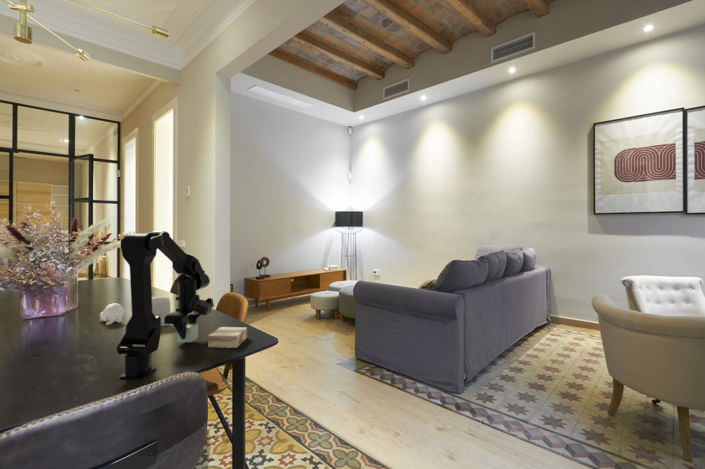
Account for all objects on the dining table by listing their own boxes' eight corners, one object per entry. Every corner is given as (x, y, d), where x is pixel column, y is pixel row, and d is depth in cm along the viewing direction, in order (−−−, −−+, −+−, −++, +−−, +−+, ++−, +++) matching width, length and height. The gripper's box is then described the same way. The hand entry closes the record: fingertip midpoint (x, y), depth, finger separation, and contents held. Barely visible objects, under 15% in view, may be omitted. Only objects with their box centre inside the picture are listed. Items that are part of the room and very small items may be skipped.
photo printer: (170, 323, 141) (169, 294, 140) (170, 325, 137) (170, 296, 137) (141, 327, 135) (141, 297, 135) (141, 329, 131) (141, 299, 131)
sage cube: (190, 342, 115) (190, 328, 114) (176, 341, 115) (176, 327, 115) (197, 337, 120) (197, 323, 119) (184, 337, 120) (184, 323, 120)
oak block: (236, 347, 113) (236, 336, 113) (208, 347, 114) (208, 335, 114) (246, 337, 123) (246, 327, 123) (220, 337, 124) (220, 326, 124)
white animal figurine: (108, 305, 135) (93, 304, 141) (109, 326, 135) (94, 324, 141) (124, 302, 141) (110, 301, 146) (126, 322, 140) (111, 320, 146)
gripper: (196, 299, 107) (196, 346, 108) (221, 288, 126) (221, 328, 126) (162, 298, 107) (163, 345, 108) (192, 288, 126) (192, 328, 127)
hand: (187, 336), depth 117 cm, fingers closed on sage cube, 5 cm apart
